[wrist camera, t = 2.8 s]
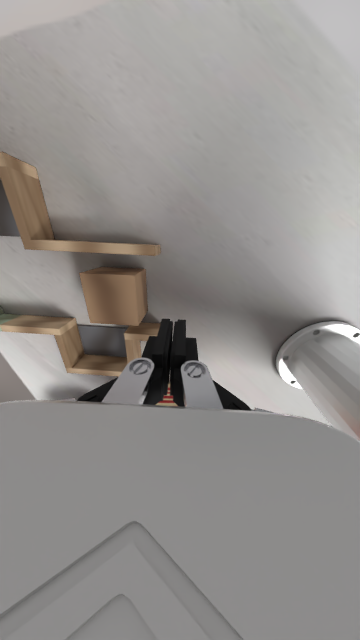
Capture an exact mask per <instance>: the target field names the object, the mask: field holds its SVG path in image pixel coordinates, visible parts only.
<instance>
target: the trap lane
mask: <svg viewBox="0 0 360 640" xmlns="http://www.w3.org/2000/svg"><path fill="white" fill-rule="evenodd" d="M0 178H1V180H0V236H21V239H22V242H23V245H24V248H25V249H31V250H51V251H70V252H90V253H110V254H129V255H149V256H156V255H158V254H161V250H160V245H150V244H129V243H109V242H88V241H68V240H55V239H54V235H53V231H52V227H51V224H50V220H49V216H48V212H47V208H46V205H45V201H44V197H43V193H42V189H41V185H40V182H39V178H38V174H37V170H36V168H35V167H33V166H31V165H29V164H27V163H25V162H23V161H21V160H19V159H16V158H14V157H12V156H10V155H8V154H6V153H4V152H0ZM159 328H160V323H144V322H141V323H140V324H139V326H135V325H130V326H129V327H128V328H116V327H101V326H85V325H78V326H77V323H76V319H75V318H65V317H49V316H33V315H17V314H4V312H3V310H2V308H1V305H0V331H5V332H20V333H35V334H50V335H54V336H55V339H56V342H57V344H58V347H59V350H60V353H61V356H62V359H63V362H64V365H65V368H66V371H67V373H78V374H92V375H105V376H120V374H121V373H122V371H123V370H124V368H125V367H126V366H127V364H128V363H129V362H130V361H132V360H134V359H136V358H141V347H140V341H148V338H149V336H157V334H158V331H159ZM78 329H79V330H78ZM79 333H80V334H79ZM80 337H81V338H80ZM81 341H82V342H81ZM82 345H83V346H82ZM83 348H84V349H83ZM84 352H85V353H84ZM88 354H90V355H88ZM102 355H104V356H102ZM116 356H118V357H116Z"/></svg>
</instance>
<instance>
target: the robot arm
mask: <svg viewBox="0 0 360 640" xmlns="http://www.w3.org/2000/svg"><path fill="white" fill-rule="evenodd" d="M172 331H173V321H170V319H162V321H161V324H160V328H159V331H158V334H157V336H149V338H148V341H147V343H146V346H145V349H144V351H143V354H142V357H141V358H136V359H134V360H132V361H130V362H129V363H128V364H127V366H126V367H125V368H124V370H123V371H122V373H121V374H120V376H119V377H117V378H115V379H114V380H112V381H110V382H108V383H106V384H104V385H102V386H100V387H98V388H96V389H94V390H92V391H90V392H88V393H86V394H85V395H83V396H81V397H80V398H79V399H78V400H75V398H69V399H62V400H22V401H11V402H4V403H0V640H360V330H359V329H358V328H356V327H354V326H352V325H350V324H348V323H344V322H338V321H328V322H321V323H317V324H313V325H310V326H308V327H305V328H303V329H302V330H300V331H298V332H296V333H295V334H294V335H292V336H291V337H290V338H289V339H288V340H287V341H286V342H285V343H284V344H283V345H282V347H281V348H280V350H279V352H278V354H277V358H276V368H277V371H278V373H279V374H280V376H281V378H282V379H283V380H284V381H285V382H286V383H288V384H289V385H291V386H294V387H296V388H301V389H303V390H304V391H305V393H306V394H307V395H308V396H309V398H310V399H311V400H312V402H313V403H314V404H315V406H316V407H317V408H318V409H319V411H320V412H321V413H322V415H323V416H324V417H325V419H326V420H327V421H328V423H329V424H330V425H331V426H329V425H326V424H324V423H321V422H318V421H315V420H311V419H307V418H303V417H299V416H293V415H288V414H278V413H274V412H270V411H266V410H262V409H258V408H255V409H254V410H252V409H250V408H249V406H247V405H246V404H245V403H244V402H243V401H241V400H240V399H238V398H237V397H236V396H234V395H233V394H232V393H230V392H229V391H227V390H226V389H225V388H223V387H222V386H220V385H219V384H218V383H216V382H215V381H213V380H212V378H211V375H210V372H209V370H208V368H207V366H206V365H205V364H204V363H202V362H200V361H198V352H197V343H196V338H186V320H178V322H176V321H175V325H174V333H173V341H172ZM169 375H170V396H173V402H175V404H176V405H177V406H163V405H156V404H157V403H158V402H160V401H163V397H164V395H167V392H168V384H169Z"/></svg>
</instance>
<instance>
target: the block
mask: <svg viewBox="0 0 360 640" xmlns="http://www.w3.org/2000/svg"><path fill="white" fill-rule="evenodd" d="M79 275H80V279H81V284H82V288H83V292H84V297H85V301H86V305H87V310H88V314H89V319H90V323H100V324H117V325H135V326H139V324H140V323H141V321H142V319H143V318H144V316H145V314H146V313H147V311H148V304H147V285H146V269H138V268H115V267H99V268H96V269H92V270H88V271H85V272H81V273H79Z"/></svg>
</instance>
